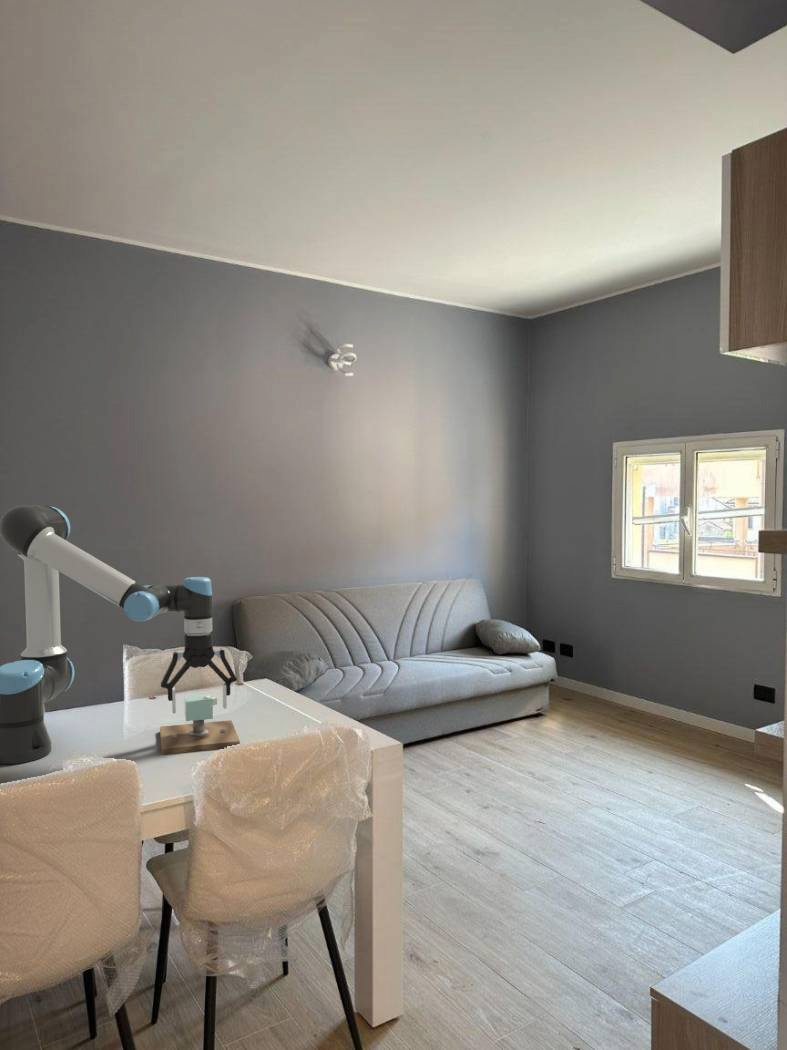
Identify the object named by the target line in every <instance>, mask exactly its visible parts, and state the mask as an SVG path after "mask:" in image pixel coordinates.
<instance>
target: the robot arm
mask: <svg viewBox="0 0 787 1050" xmlns="http://www.w3.org/2000/svg"><path fill="white" fill-rule="evenodd" d="M0 518H1V519H0V537H1V540H2V541H3V542H4V543H5V545H6V546H8V547H9V548H11V549H12V550H13V551H15V552H16V553H17V556H18V557H19V558H20V559H21V560H22V561H23V566H24V568H23V571H24V598H25V599H24V601H25V603H24V604H25V628H26V632H25V633H26V635H25V636H26V647H25V648H24V650H23V651H22V652H21V653H20V660H16V661H13V662H7V663H4V664H3V665H1V666H0V765H13V764H16V765H17V764H22V763H28V762H32V761H36V760H39V759H41V758H42V759H43V758H44V757H46V756H48V755H49V754H50V753H51V752H52V741H51V738H50V734H49V733H48V730H47V727H46V724H45V719H44V718H45V717H44V715H45V714H44V713H45V712H44V711H45V708H44V707H45V706H44V705H45V704H46V703H48V702H50V701H51V700H54V699H57V698H58V697H60V696H61V695H63V694H64V693H65V692H66V691H67V690H69V688H70V687H71V686H72V684H73V681H74V678H75V666H74V664H73V662H72V661H71V660H70V659H69V657H68V650H67V648H66V647H64V646H63V645H62V640H61V639H62V637H61V636H62V634H61V608H60V607H61V605H60V604H61V603H60V602H61V601H60V597H61V596H60V574H59V572H60V573H61V574H62V575H64V576H66V577H68V578H70V579H71V580H73V581H75V582H76V583H78V584H80V585H81V586H83V587H85V588H87V589H89V590H91V592H94V593H95V594H97V595H98V596H100V597H102V598H104V599H105V600H107V601H109V602H111V603H112V604H114V605H116V606H117V607H118V608H121V609H122V610H124V613H125V615H126V616H127V618H128V619H130V620H131V621H133V622H145V621H149V620H151V619H153V618H155V617H157V616H159V615H161V614H163V613H164V614H165V613H183V625H184V626H183V627H184V628H183V630H184V633H185V635H184V636H183V637H184V650H183V652H178V651H173V653H172V658H171V661H170V663H169V665H168V668H167V670H166V672H165V674H164V676H163V678H162V680H161V682H160V687H161V688H164V689H166V690H167V700H168V701H169V702H172V704H171V705H172V706H171V707H172V710H171V711H172V714H176V708H177V707H176V705H177V704H176V687H175V686H176V685H177V683H178V682H179V681H180V680H181V678H182V677H183V676H184V675H185V673H186V672H187V671H188V670H189V669H190V667H191V668H193V669H196V668H205V667H207V666H208V667H209V668H210V669H212V670H213V672H214V673H215V674H216V675H218V677H219V678H220V679H221V680H222V681H223V683H222V708H223V709H227V707H228V705H227V701H228V699H227V697H228V696H231V684H233V683H234V682H237V681H238V679H237V676H236V674H235V673H234V671H233V669H232V667H231V665H230V664H229V662H228V660H227V658H226V654H225V649H223V648H222V647H221V648H219V649H215V650H214V645H213V644H214V643H213V634H212V632H213V592H212V590H213V589H212V580H211V579H210V578H209V577H207V576H206V577H205V576H192V577H185V578H184V579H183V583H182V584H150V585H149V584H148V585H142V584H140V583H139V582H137V581H135V580H134V579H132V578H130V576H127V575H125V574H124V573H122V572H120V571H119V570H117V569H115V568H114V567H112V566H110V565H108V564H107V563H105V562H104V561H101V560H99V559H98V558H97V557H95V556H93V555H92V554H91V553H88V552H86V551H85V550H83V549H81V548H80V547H78V546H76V545H75V544H73V543H71V542H69V541H68V540H67V539H68V538H69V536H70V534H71V523H70V519H69V518H68V517H67V515H66V513H64V512H63V511H62V510H61V509H59V508H57V507H54V506H51V505H45V504H44V505H43V504H39V505H27V504H26V505H17V506H14V507H11V508H10V509H8V510H7V511H6V512H5V513H4V514H3V515H2V516H1V517H0ZM215 656H217V658H220V660H221V662H222V664H223V666H224V667H225V669H226V671H227V672H228V675H229V676H230V677H228V676H227V675H226V674H225V673H224V672H223V671H222V670H221V669H220V668H219V667H218V666H217V665H216V664H215V663H214V661H213V660H212V659H213V658H214V657H215ZM181 658H183V659H184V660H185V662H184V663H183V665H182V666H181V668H180V669H179V670H178V671H177V673H176V674H175V675H174V676H173V678H172V679H171V680H170V681H169V679H170V678H171V675H172V673H173V671H174V669H175V667H176V665H177V663H178V661H180V660H181Z"/></svg>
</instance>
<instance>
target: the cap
mask: <svg viewBox="0 0 787 1050" xmlns="http://www.w3.org/2000/svg"><path fill="white" fill-rule="evenodd" d="M217 705H218V698H217V697H212V695H211V694H209V693H208V694H200V695H199V694H198V695H186V696H184V717H185V721H186V722H190V721H192V722H193V721H194V720H204V721H205V720H213V719H214V715H213V714H214V712H213V711H214V706H217Z"/></svg>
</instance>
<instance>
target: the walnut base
mask: <svg viewBox="0 0 787 1050" xmlns="http://www.w3.org/2000/svg"><path fill="white" fill-rule="evenodd" d="M159 733H160V734H159V735H160V736H159V737H160V748H161V749H160V751H161V755H169V754H170V755H171V754H181V753H191V752H199V751H209V750H212V751H213V750H219V749H220V748H222V749H225V748H224V747H227V746H232V745H237V744H240V743H241V740H240V739H239V735H238V734H237V731H236V729H235V725H234V724H233V721H232V719H229V720H220V721H219V720H218V721H210V722H209V721H208V722H206V721H205V720H194V721H192V723H185V724H174V725H164V726H162V725H161V726H159ZM240 745H241V744H240ZM220 750H221V749H220Z"/></svg>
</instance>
